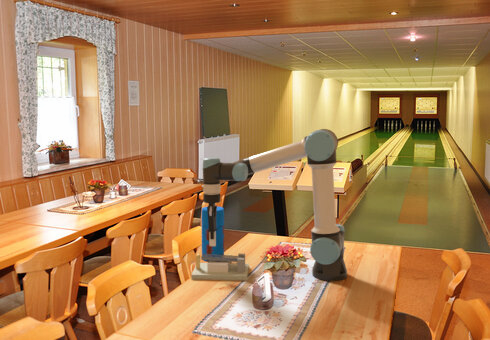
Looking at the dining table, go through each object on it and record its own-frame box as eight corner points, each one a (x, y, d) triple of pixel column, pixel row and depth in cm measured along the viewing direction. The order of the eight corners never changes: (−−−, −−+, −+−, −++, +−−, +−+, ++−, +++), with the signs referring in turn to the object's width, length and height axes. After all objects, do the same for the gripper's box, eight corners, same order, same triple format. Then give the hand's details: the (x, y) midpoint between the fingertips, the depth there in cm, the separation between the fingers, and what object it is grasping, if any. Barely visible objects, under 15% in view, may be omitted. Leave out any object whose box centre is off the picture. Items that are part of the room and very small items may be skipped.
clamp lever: (243, 259, 217) (243, 255, 217) (243, 263, 213) (243, 258, 212) (202, 257, 218) (202, 253, 218) (201, 260, 214) (201, 256, 213)
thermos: (198, 261, 232) (198, 210, 229) (205, 254, 243) (205, 205, 239) (220, 263, 230) (220, 211, 226) (226, 256, 240) (226, 206, 237)
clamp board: (248, 267, 223) (248, 250, 222) (247, 280, 208) (247, 261, 207) (197, 266, 225) (196, 249, 224) (191, 279, 209) (191, 260, 208)
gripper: (205, 190, 218) (206, 241, 221) (201, 195, 205) (202, 249, 208) (221, 190, 218) (222, 241, 221) (218, 195, 205) (219, 250, 208)
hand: (212, 245), depth 215 cm, fingers closed
